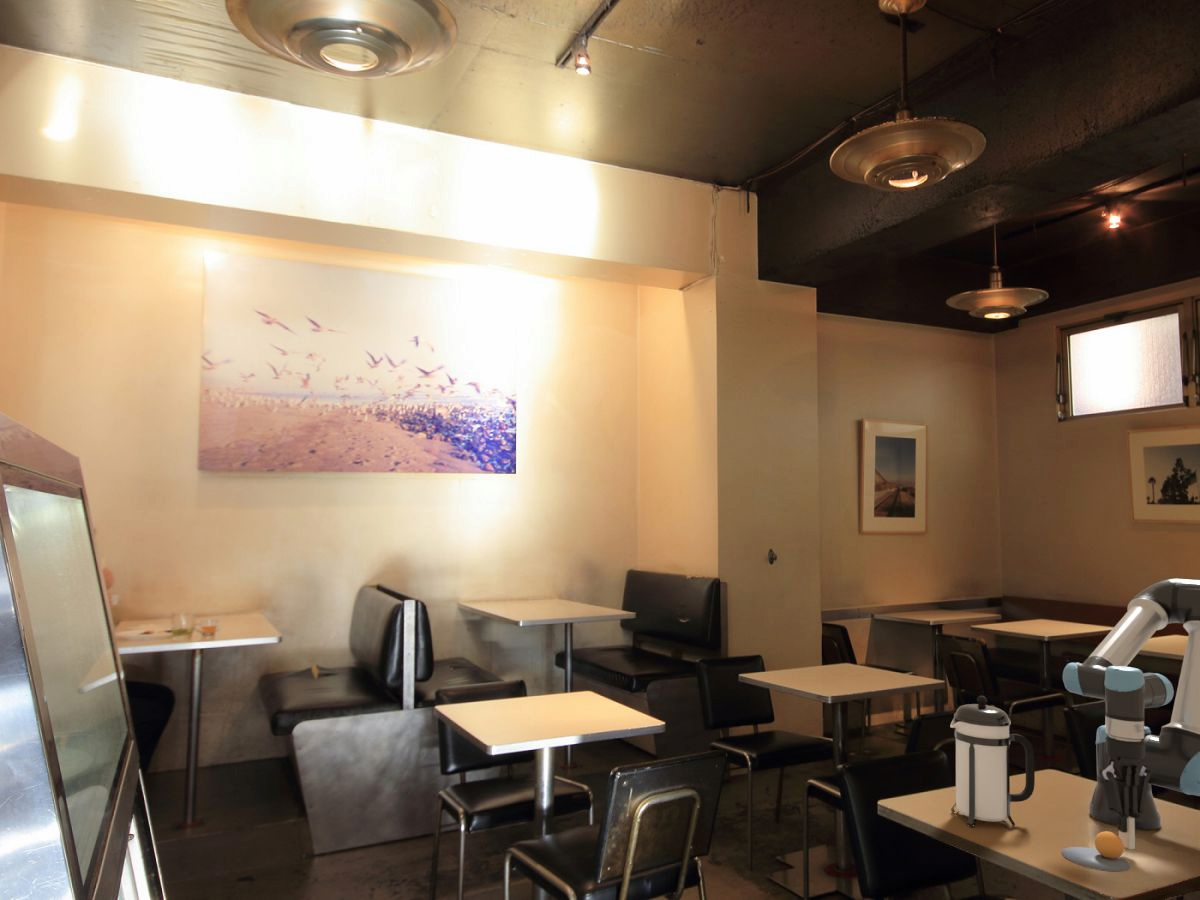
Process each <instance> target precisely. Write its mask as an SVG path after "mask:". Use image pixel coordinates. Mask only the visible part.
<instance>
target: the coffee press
mask: <svg viewBox="0 0 1200 900" xmlns="http://www.w3.org/2000/svg"><path fill="white" fill-rule="evenodd" d="M976 702H977V703H971V704H969V703H968V704H964V705H963V704H962V705H960V706H959V707H958V708H957V709H956V712H954V714H953V719H952V721H951V723H950V728H951V729H954V737H955V803H954V805H953V806H952V807H951V809H950V811H951V813H953V814H954V812H957V813H956V814H958V813H960V814H962V815H963V816H965V817H967V821H966V824H967V826H968V825H969V826H968V827H971V826H973V825H974V826H976V824H977V822H978V821H981V822H982V821H984V822H994V823H995V822H1002V823H1003V824H1004V826H1006V828H1007V829H1009V830H1012V829H1014V828H1015V827H1016V823H1015V822H1014V820H1013V818H1012V817H1011V803H1016V802H1017V803H1018V802H1024V801H1027V800H1028V799H1030V797H1031V796H1032V795H1033V792H1034V789H1035V783H1036V782H1035V780H1036V779H1035V778H1036V777H1035V769H1036V768H1035V753H1034V751H1035V750H1034V748H1033V745H1032V743H1031V741H1030V740H1029V739H1028V738H1026V737H1025V736H1023V735H1020V734H1018V733H1012V734H1011V733H1010V726H1011V724H1012V723H1011V719H1010V718H1009V715H1008V714H1007V713H1006V711H1004V710H1002V709H1001V708H998V707H995V706H991V705H988V704H987V702H988V700H987V698H986V697H985V696H984V695H979V696H978V697H977V698H976ZM1011 742H1015V743H1020V744H1021V745H1022V746H1023V748H1024V752H1025V785H1024V786H1025V787H1024V789H1023V790H1022V791H1021V792H1019V793H1011V792H1010V791H1011V789H1010V783H1011V782H1010V781H1011V780H1010V774H1011V773H1010V745H1011ZM955 807H956V809H957V811H956V810H955ZM1007 819H1008V821H1009V822H1010V823H1011V825H1012V826H1011V825H1010V824H1009V823H1008V822H1007V821H1006V820H1007Z"/></svg>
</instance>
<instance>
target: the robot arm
mask: <svg viewBox="0 0 1200 900" xmlns="http://www.w3.org/2000/svg"><path fill="white" fill-rule="evenodd" d="M1126 610H1127V611H1126V613H1125V614H1124V615H1123V617H1122V618H1121V619H1120V620H1119V621H1118V622H1117V623H1116V625H1115V626H1114V627H1113V628H1112V629H1111V630H1110V632H1108V634H1107V635H1106V636H1105V637H1104V639H1103V640H1102V641H1101V642H1100V643H1099V644H1098V645H1097V646H1096V648H1094V651H1092V652H1091V653H1090V655H1089V656H1088V657H1087V658H1086V659H1085V660H1084V662H1083V663H1080V662H1069V663H1067V664H1066V666H1065V667H1064V668H1063V672H1062V681H1063V684H1064V687H1065V689H1066V690H1067V691H1068V692H1069V693H1073V694H1077V695H1080V696H1083V697H1088V698H1096V699H1100V700H1104V703H1105V716H1104V717H1105V721H1104V723H1105V724H1104V725H1103V724H1102V725H1100V726H1099V727H1098V728H1097V729H1096V737H1095V738H1096V740H1095V745H1096V749H1095V750H1096V781H1097V782H1096V786H1095V789H1094V791H1093V795H1092V798H1091V801H1090V802H1089V815H1090V816H1091V817H1093V818H1094V819H1096V820H1098V821H1100V822H1102V823H1106V824H1108V825H1112V826H1117V827H1116V828H1117V831H1118V837H1119V838H1120V839H1121V840H1122V842H1123V845H1124V848H1125V849H1129V850H1134V849H1136V836H1135V835H1136V833H1135V832H1136V831H1137V830H1140V829H1142V830H1143V831H1151V830H1158V829H1160V828H1161V826H1162V825H1161V815H1160V813H1159V811H1158V809H1157V806H1156V801H1155V799H1154V796H1153V793H1152V785H1153V786H1156V787H1157V786H1158V787H1162V788H1165V789H1169V790H1172V791H1176V792H1180V793H1184V794H1185V795H1188V796H1195V797H1196V796H1197V797H1200V579H1191V578H1189V579H1188V578H1179V577H1178V578H1168V579H1164V580H1161V581H1159V582H1156V583H1153V584H1152V585H1150V586H1148V587H1147V588H1144V589H1143V590H1141V591H1139V592H1138V594H1136V595H1135V596H1134V597H1133V598H1132V599H1131V600H1130V602H1128V605H1127V609H1126ZM1169 624H1183V625H1182V627H1183V629H1185V631H1186V632H1187V633H1188V636H1187V642H1186V647H1185V651H1184V656H1183V660H1182V665H1181V671H1180V674H1179V678H1178V685H1177V690H1176V694H1175V699H1174V703H1173V709H1172V714H1171V719H1170V722H1169V723H1167V724H1165V725H1162V726H1161V729H1160V733H1159V735H1154V734H1152V730H1151V728H1150V727H1148V726H1146V725H1145V709H1152V708H1155V709H1156V708H1157V709H1158V708H1160V707H1162V706H1165V705H1166V706H1167V704H1169V703H1170V702H1171V701H1172V700H1173V697H1174V693H1175V691H1174V687H1173V684H1172V682H1171V681H1170V680H1169V679H1168V678H1167V677H1166V676H1165V675H1163V674H1160V673H1156V672H1155V673H1154V672H1143V670H1141V669H1139V668H1136V667H1131V666H1128V665H1129V664H1131V662H1132V661H1133V659H1134V658H1135V657H1136V656H1137V655H1138V654H1139V652H1140V651H1141V650H1142V649H1143V647H1144V646H1145V645H1146V643H1148V642H1149V640H1150V639H1151V638H1152V636H1153V635H1154V634H1155V633H1156V631H1160V630H1163V629H1164V628H1166V627H1167V626H1168V625H1169Z"/></svg>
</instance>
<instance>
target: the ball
mask: <svg viewBox="0 0 1200 900" xmlns="http://www.w3.org/2000/svg"><path fill="white" fill-rule="evenodd" d="M1094 846H1095V849H1097V851H1098V852H1099V853H1100V854H1101V855H1102V856H1104V857H1106V858H1109V859H1116V858H1118V857H1122V855H1123V853H1124V850H1125V847H1124V845H1123V842H1122V840H1121V839H1120V838H1119V835H1117V834H1116V833H1114V832H1112V831H1107V830H1105V831H1101V832H1099V833H1097V835H1096V836H1095V838H1094Z"/></svg>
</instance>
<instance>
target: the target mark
mask: <svg viewBox="0 0 1200 900" xmlns="http://www.w3.org/2000/svg"><path fill="white" fill-rule="evenodd" d="M1061 855H1062V856H1063V858H1065V859H1066V858H1067V859H1066V860H1068V861H1070V862H1072V863H1074V862H1075V863H1074V864H1076V863H1077V865H1079V864H1080V865H1079V866H1082V865H1083V867H1085V866H1086V868H1089V867H1090V868H1089V869H1093V868H1095V869H1094V870H1098V869H1100V871H1104V870H1107V871H1106V872H1124V870H1126V871H1128V870H1130V869H1131V865H1132V864H1131V863H1130V862H1129V861H1128V860H1127V859H1125V858H1123V856H1120V857H1118V858H1116V859H1109V858H1106V857H1104V856H1102V855H1101V854H1100V853H1099V852H1098V851H1097V849H1096V848H1091V847H1085V846H1070V847H1065V848H1063V849H1062V850H1061Z"/></svg>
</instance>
